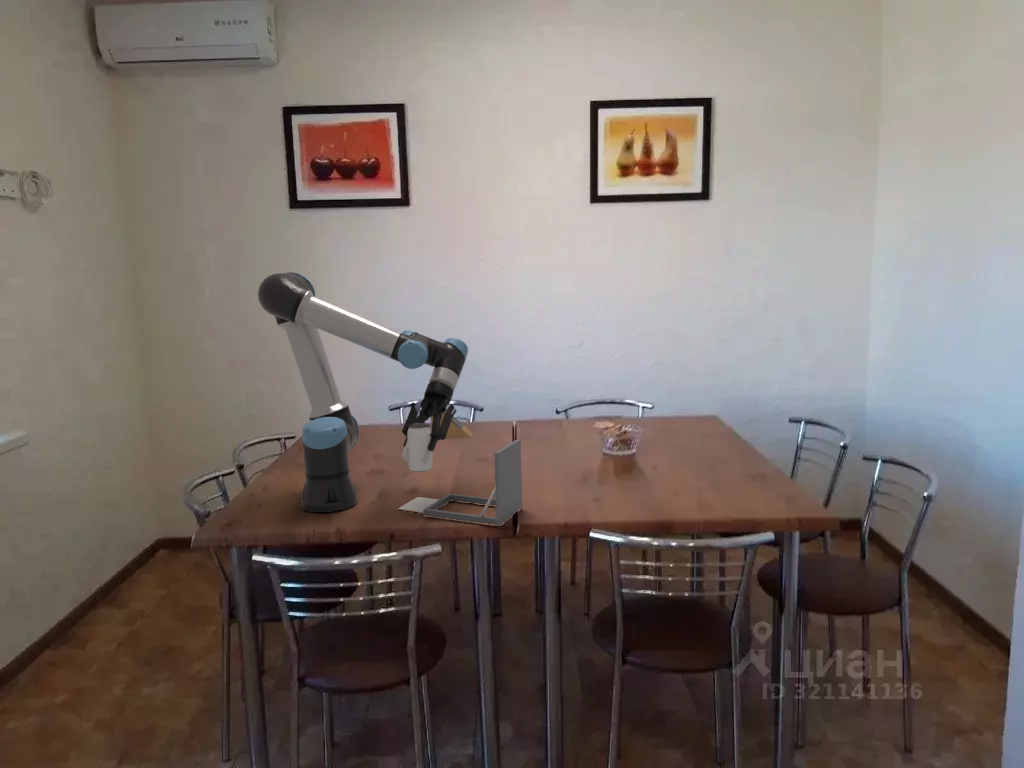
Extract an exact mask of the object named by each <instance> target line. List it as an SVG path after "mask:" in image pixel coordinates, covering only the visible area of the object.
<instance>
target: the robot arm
mask: <svg viewBox="0 0 1024 768" xmlns="http://www.w3.org/2000/svg"><path fill="white" fill-rule="evenodd" d="M257 297H258V298H257V299H258V302H259V304H260V306H261V307H262V309H263V310H265V312H267V313H268V314H270V315H272V316H273V317H274V319H275V322H276V324H277V326H278V327H280V328H282V329H283V330H284V331H285V333H286V336H287V339H288V342H289V345H290V348H291V351H292V354H293V358H294V360H295V363H296V366H297V368H298V372H299V376H300V378H301V380H302V384H303V387H304V390H305V393H306V396H307V398H308V401H309V405H310V408H311V409H310V410H311V411H310V413H309V415H308V419H309V421H307V422H306V423H305V424H304V425H303V427H302V432H301V433H302V434H301V440H302V447H303V461H304V471H305V481H304V482H305V483H304V485H303V490H302V495H301V499H300V505H301V509H302V508H303V509H304V510H303V509H302V510H303V511H305V510H306V511H305V512H307V511H311V512H310V513H312V512H330V513H334V512H333V511H337V512H339V511H338V510H342V511H344V510H343V509H345V510H347V509H346V508H348V509H350V508H349V507H351V506H353V505H354V506H356V505H357V504H356V503H358V502H357V501H358V492H357V490H356V489H355V487H354V484H353V483H354V482H353V481H352V478H351V476H350V469H349V468H350V467H349V466H350V465H349V452H350V451H351V450H352V449H353V448H354V447H355V445H356V444H357V443H358V442H357V441H358V440H359V437H360V425H359V423H358V420H357V419H356V418H355V416H354V415H353V414H352V413H351V409H350V406H349V403H347V402H345V401H343V400H342V399H341V396H340V393H339V389H338V387H337V384H336V381H335V378H334V375H333V372H332V370H331V365H330V362H329V360H328V357H327V354H326V351H325V347H324V344H323V342H322V339H321V335H320V332H319V330H321V331H323V332H325V333H328V334H330V335H333V336H335V337H337V338H340V339H343V340H345V341H348V342H349V343H352V344H355V345H357V346H360V347H362V348H365V349H367V350H370V351H371V352H374V353H377V354H379V355H381V356H384V357H387V358H390V359H391V360H393V361H396V362H399V363H400V365H402V367H404V368H406V369H409V370H414V369H418V368H421V367H423V365H427V366H430V367H433V371H432V373H431V375H430V378H429V381H428V382H429V383H427V385H426V389H425V391H424V397H423V398H422V400H421V401H420V402H418V403H415V402H411V404H410V409H409V413H408V416H407V418H406V420H405V422H404V424H403V426H402V429H401V433H402V434H403V435H404V437H405V439H404V443H403V447H404V448H403V451H402V453H401V458H402V459H403V460H404V461H405V462H408V460H409V456H408V439H407V431H408V429H409V425H411V424H415V423H425V422H426V421H429V419H430V418H431V417H433V422H432V432H431V434H430V435H431V437H429V439H428V441H427V442H426V444H425V446H424V448H423V451H422V454H421V456H420V459H421V460H422V461H423V462H424V463H427V461H428V458H429V455H430V452H431V451H432V452H433V451H434V450H435V448H436V445H437V443H438V442H439V441H440V440H442V441H445V439H447V438H446V435H447V432H448V429H449V426H450V423H451V420H452V417H453V416H454V417H455V414H456V413H457V409H456V407H455V406H454V404H450V403H451V401H452V398H453V395H454V392H455V389H456V386H457V385H458V381H459V379H460V376H461V373H462V370H463V369H464V368H463V367H464V366H465V363H466V361H467V356H468V353H469V346H468V344H466V342H464V341H463V340H462V339H459V338H456V337H455V338H454V337H449V338H447V339H446V340H445V341H444V342H443V341H440V340H436V339H433V338H431V337H429V336H426V335H423V334H421V333H418V332H417V331H412V330H410V329H405V330H404V331H403V332H401V331H398V330H396V329H393V328H392V327H388V326H386V325H383V324H382V323H379V322H376V321H374V320H373V319H369V318H368V317H365V316H362V315H360V314H357V313H355V312H352V311H350V310H348V309H345V308H343V307H340V306H338V305H335V304H333V303H332V302H328V301H326V300H324V299H321V298H319V297H317V296H316V291H315V287H314V284H312V282H311V281H310V279H308V278H307V277H306V276H304V275H302V274H299V273H296V272H291V271H289V272H283V273H281V272H279V273H273V274H270V275H268V276H267V277H265V278H264V279H263V280H262V281H261V283H260V285H259V286H258V291H257ZM445 411H446V412H445ZM443 412H445V414H444V417H443V420H442V423H441V426H440V421H441V419H442V413H443ZM355 504H356V505H355ZM354 506H353V507H354ZM351 508H352V507H351Z"/></svg>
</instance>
